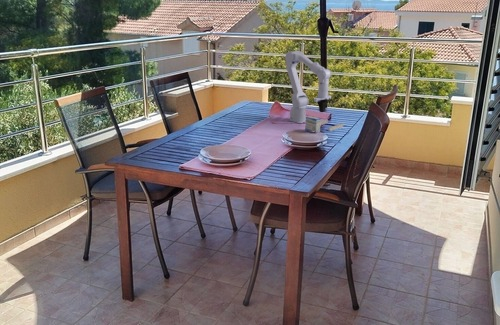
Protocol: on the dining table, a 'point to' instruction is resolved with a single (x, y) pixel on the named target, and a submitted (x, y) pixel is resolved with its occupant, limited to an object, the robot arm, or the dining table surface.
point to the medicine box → (312, 124)
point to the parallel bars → (332, 126)
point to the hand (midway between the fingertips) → (321, 111)
